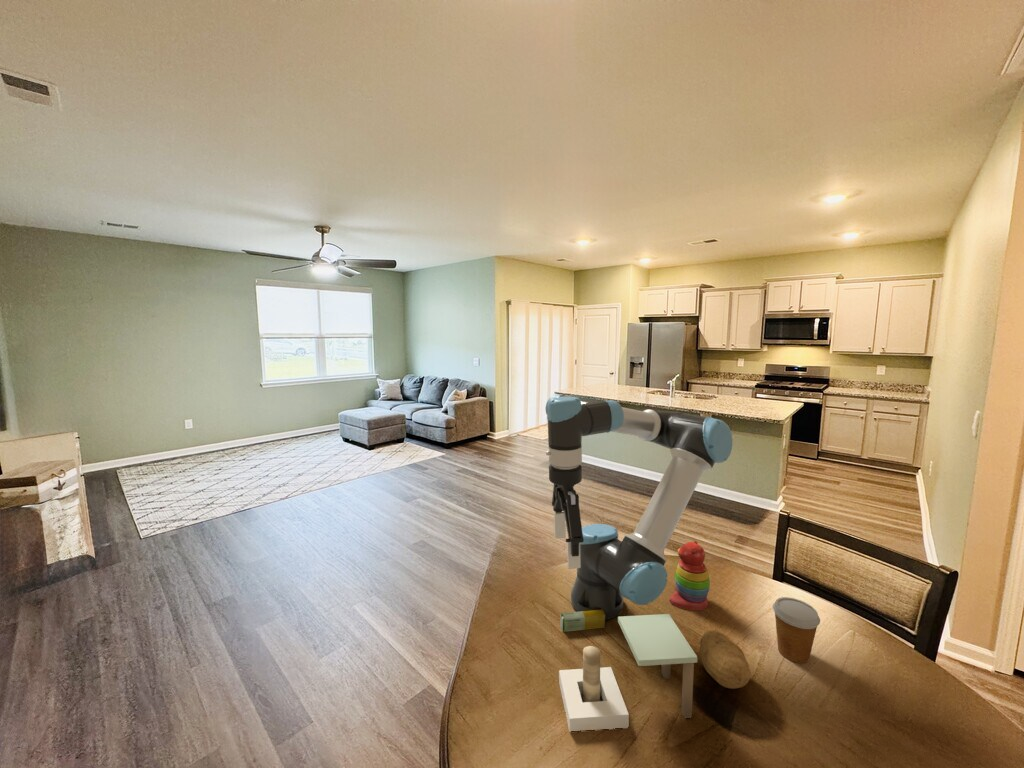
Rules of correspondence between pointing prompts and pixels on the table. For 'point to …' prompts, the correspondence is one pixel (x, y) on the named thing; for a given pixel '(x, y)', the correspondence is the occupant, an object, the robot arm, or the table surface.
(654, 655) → the mint green toy table
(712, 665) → the potato
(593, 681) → the peg
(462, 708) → the table surface
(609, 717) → the socket block
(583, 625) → the medication box
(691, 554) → the stacking bear
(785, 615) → the disposable coffee cup
